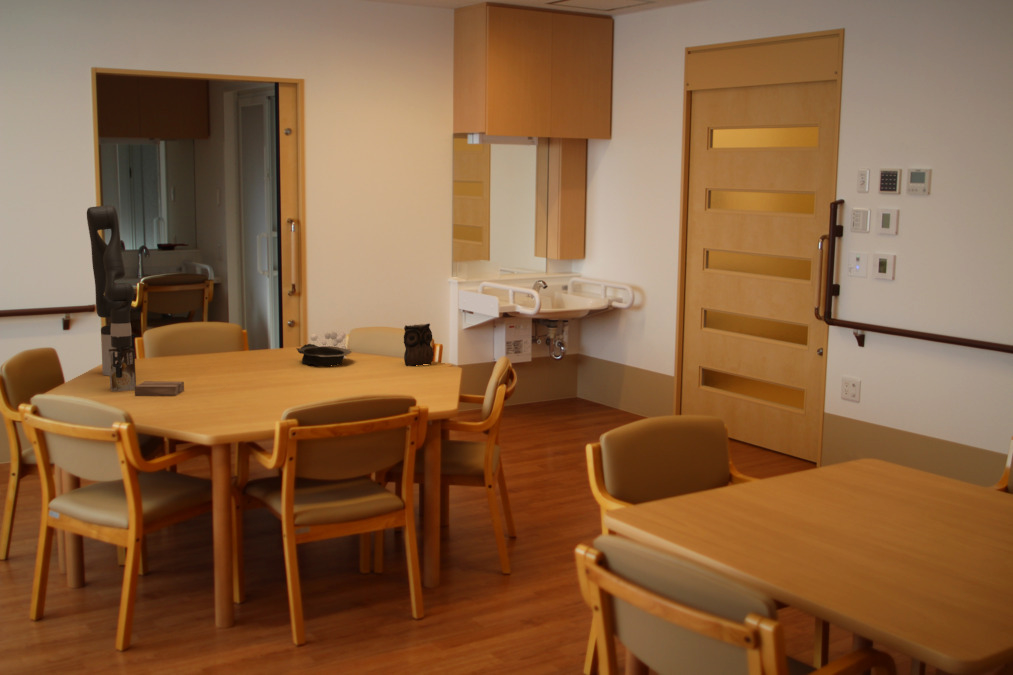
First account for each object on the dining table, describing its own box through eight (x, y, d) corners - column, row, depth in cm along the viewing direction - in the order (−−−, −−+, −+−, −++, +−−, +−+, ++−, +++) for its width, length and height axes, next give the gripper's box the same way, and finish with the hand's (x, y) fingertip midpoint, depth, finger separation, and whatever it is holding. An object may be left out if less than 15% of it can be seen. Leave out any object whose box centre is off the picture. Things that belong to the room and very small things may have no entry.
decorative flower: (304, 355, 484) (304, 327, 482) (350, 355, 486) (350, 327, 484) (298, 363, 459) (298, 333, 457) (346, 363, 461) (346, 333, 459)
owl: (434, 365, 454) (434, 322, 451) (424, 369, 442) (425, 325, 439) (409, 364, 457) (409, 321, 455) (398, 368, 445) (398, 324, 443)
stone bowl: (285, 366, 447) (285, 346, 446) (328, 360, 466) (328, 341, 465) (319, 372, 431) (319, 351, 430) (363, 366, 450) (362, 346, 449)
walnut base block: (145, 391, 383) (144, 381, 383) (184, 391, 384) (183, 381, 383) (135, 397, 371) (134, 386, 371) (175, 397, 372) (174, 386, 371)
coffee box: (134, 387, 388) (133, 347, 386) (136, 390, 382) (135, 349, 380) (109, 389, 384) (108, 348, 382) (111, 392, 378) (109, 350, 376)
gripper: (117, 332, 387) (118, 373, 389) (105, 336, 373) (106, 378, 375) (136, 332, 388) (138, 373, 390) (125, 336, 374) (126, 378, 376)
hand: (122, 375), depth 382 cm, fingers closed on coffee box, 8 cm apart
